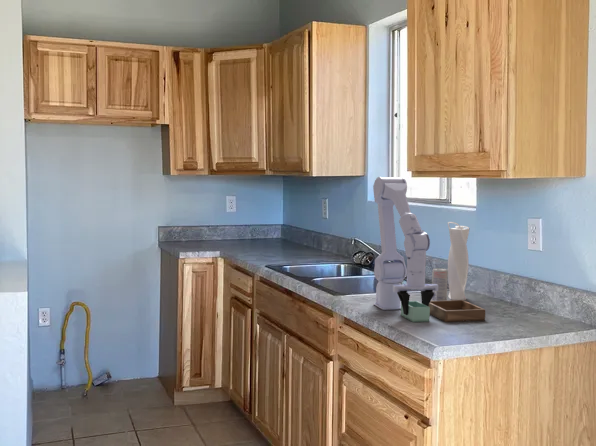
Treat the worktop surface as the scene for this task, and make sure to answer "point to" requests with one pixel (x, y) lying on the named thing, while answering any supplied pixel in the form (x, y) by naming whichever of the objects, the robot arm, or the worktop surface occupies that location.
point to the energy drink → (440, 284)
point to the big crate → (456, 311)
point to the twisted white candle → (458, 262)
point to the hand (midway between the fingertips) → (414, 313)
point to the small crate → (417, 312)
